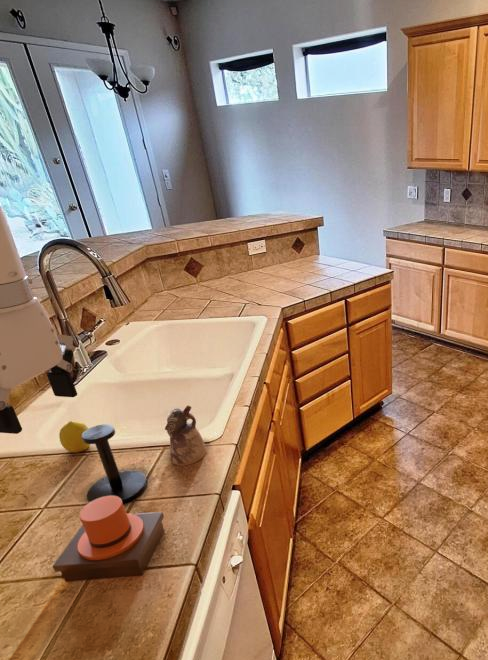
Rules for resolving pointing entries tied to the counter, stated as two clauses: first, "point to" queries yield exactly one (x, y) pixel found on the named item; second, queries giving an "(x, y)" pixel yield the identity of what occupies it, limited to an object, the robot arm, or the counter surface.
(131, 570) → the walnut stand
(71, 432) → the lemon
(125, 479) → the hat stand
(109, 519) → the hat
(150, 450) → the counter surface
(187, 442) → the figurine
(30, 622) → the counter surface
